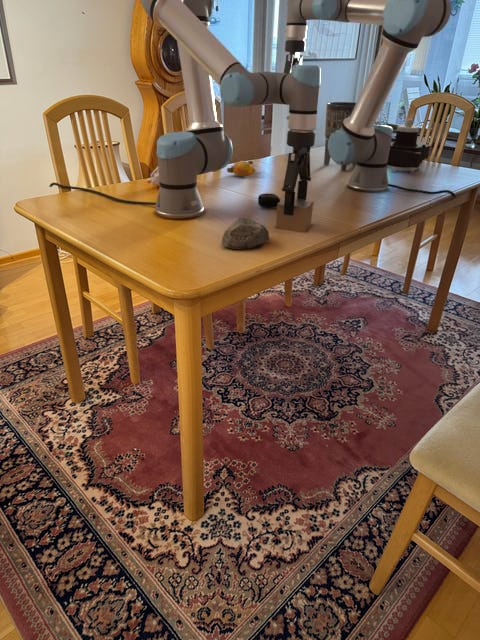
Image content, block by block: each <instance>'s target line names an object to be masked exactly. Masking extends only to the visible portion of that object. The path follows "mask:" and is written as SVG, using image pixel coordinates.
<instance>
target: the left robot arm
mask: <svg viewBox="0 0 480 640" xmlns="http://www.w3.org/2000/svg"><path fill="white" fill-rule="evenodd" d="M215 1H216V0H140V4H141V6H142V8H143V10H144V12H145V13H146V15H148V18H149V19H150V20H151V21H152V22H153V23H154V25H156V26H157V27H158V28H161V29H165V30H166V31H167V32H168V33H169V34H170V35H171V36H172V37H173V38H174V39H175V41H177V48H178V55H179V61H180V68H181V74H182V75H181V76H182V80H183V88H184V93H185V100H186V107H187V113H188V119H189V125H188V127H187V128H186V130H185V131H175V132H174V131H172V132H169V133H165V134H163V135H161V136H159V138H157V141H156V157H157V167H158V172H159V185H158V187H159V190H158V194H157V198H156V202H155V201H154V202H152V201H137V200H127V199H121V198H117V197H116V196H115V197H114V196H113V195H109V194H106V193H104V192H101V191H97V190H94V189H90V188H85V187H79V186H73V185H64V184H62V183H61V184H60V183H58V182H51V183H50V184H49V186H48V187H49V188H52V187H53V186H57V187H59V188H62V189H68V190H78V191H84V192H88V193H93V194H96V195H99V196H102V197H105V198H107V199H110V200H113V201H115V202H119V203H123V204H131V205H143V206H155V207H154V210H155V211H154V212H155V215H156V216H158V217H160V218H164V219H168V220H189V219H194V218H197V217H200V216H201V215H204V204H203V200H202V197H201V194H200V192H199V190H198V176H201V175H204V174H209V173H215V172H218V171H220V170H222V169H224V168H226V167H227V166H228V165H229V163H230V161H231V160H232V158H233V153H234V152H233V151H234V149H233V143H232V139H231V138H230V137H229V135H228V134H227V133H225V132H224V126H223V124H222V123H221V122H220V121H218V118H217V111H216V110H217V109H216V104H215V103H216V102H215V94H214V87H213V81H214V82H215V83H216V84H217V85H218V86H219V94H220V96H221V99H222V101H223V103H225V104H226V105H227V106H229V107H233V108H234V107H235V108H245V107H251V106H261V105H273V104H274V105H286V106H288V115H287V116H286V120H287V121H288V123H287V128H288V131H287V133H286V134H287V135H286V145H287V146H288V147H291V148H292V152H288V156H287V164H286V169H285V170H286V171H285V175H284V180H283V185H282V188H281V192H283V193H284V198H285V200H284V215H291V216H293V215H294V203H295V199H301V200H307V197H308V196H307V195H308V187H309V186H308V184H309V182H311V181H312V176H311V148H312V147H314V146H315V143H316V142H315V141H316V132H315V131H316V130H317V122H318V106H319V98H320V89H321V85H322V84H321V78H322V77H321V75H322V71H321V70H322V69H321V67H320V66H319V65H317V64H315V65H314V64H302V65H294V66H293V67H292V71H291V73H284V72H277V71H276V72H274V71H258V72H250V71H249V70H248V69H247V68H246V67H245V66H244V65H243V64H242V63H241V62H240V61H239V59H237V57H236V56H234V55H233V53H232V52H231V51H230V50H229V49H228V48H227V47H226V46H225V45H224V44H223V43H222V42H221V41H220V39H218V38H217V37H216V35H215V34H214V33H213V32H211V30H210V29H209V27H210V19H211V17H212V16H213V13H214V12H213V10H214V9H215V5H216V3H215ZM298 178H299V180H298ZM296 186H297V193H296V191H295V189H296Z"/></svg>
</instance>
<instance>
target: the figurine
mask: <svg viewBox="0 0 480 640" xmlns="http://www.w3.org/2000/svg"><path fill="white" fill-rule="evenodd" d="M149 176H150V177H149V178H147V179H146V182H145V183H147V184H152V185H153V186H159V172H158V166H156V168H155V169H154V170H153V171H152V172H151V173H150V175H149Z"/></svg>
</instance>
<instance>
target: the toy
mask: <svg viewBox="0 0 480 640" xmlns="http://www.w3.org/2000/svg"><path fill="white" fill-rule="evenodd" d="M226 172H227V173H230V174H234V175H236V176H239V177H242V178H243V177H245V178H246V177H249V176H252V175H254V174H255V173H256V169H255V163H254V161H253V160H248V161H246V160H239V161H236V162H235V163H233V165H231V166H230V167H227V168H226Z"/></svg>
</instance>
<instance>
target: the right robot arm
mask: <svg viewBox="0 0 480 640" xmlns="http://www.w3.org/2000/svg"><path fill="white" fill-rule="evenodd" d="M286 5H287V9H286V12H287V13H286V27H285V28H286V29H284V32H285V38H286V40H285V41H284V42H285V43H284V52H286V53H288V54H286V55H285V62H284V67H283V73H291V71H292V67H293V66H294V65H303V55H302V54H301V53H305V51H306V45H307V44H306V43H307V41H306V39H307V32H308V31H307V30H308V21H315V20H316V21H318V20H319V21H329V22H340V23H353V24H365V25H374V26H375V25H376V26H382V27H383V29H382V31H381V34H380V35H381V38H382V44H381V46H380V48H379V51H378V53H377V55H376V57H375V60H374V62H373V65H371V66H372V67H371V69H370V71H369V74H368V76H367V77H366V81H365V82H364V85H363V87H362V89H361V92H360V94H359V96H358V98H357V101H356V102H355V103H356V105H355V107H354V109H353V112H352V114H351V116H350V117H348V118H346V119H344V121H343V123H342V126H341V128H340V130H336V131H335V132H333V133H332V134H331V136H330V138H329V141H328V150H329V154H330V157H331V158H330V159H331V160H332V161H333V162H334V163H335V164H337V165H341V166H342V165H344V164H345V165H347V166H348V165H351V164H352V163H356V165H355V166H354V167H353V171H351V174H350V176H349V179H348V182H347V187H348V188H349V189H351V190H354V191H358V192H363V193H364V192H365V193H382V192H386V191H388V189H389V187H390V188H394V189H397V190H402V191H405V192H412V193H420V194H426V195H439V194H449V195H451V196H452V197H456V194H455V193H454V192H453V191H452V190H448V189H443V190H437V191H436V190H435V191H428V190H423V189H415V188H409V187H404V186H400V185H396V184H392V183H389V178H388V173H387V172H388V171H387V169H388V168H387V162H388V156H389V151H390V145H391V143H392V140H393V131H394V129H393V127H392V126H390V125H383V124H376V122H377V119H378V118H379V116H380V113H381V111H382V109H383V107H384V105H385V103H386V101H387V99H388V97H389V96H390V93H391V91H392V89H393V87H394V85H395V83H396V81H397V80H398V76H399V75H400V73H401V70H402V68H403V67H404V64H405V63H406V61H407V58H408V56H409V55H410V53H411V52H413V51H416V50H418V47H419V45H420V44H421V41H422V40H423V38H430V37H434V36H435V35H437V34H438V33H440V32H441V31H443V30H444V28H445V27H446V26H447V24H448V23H449V21H450V18H451V14H452V4H451V1H450V0H287V2H286Z"/></svg>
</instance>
